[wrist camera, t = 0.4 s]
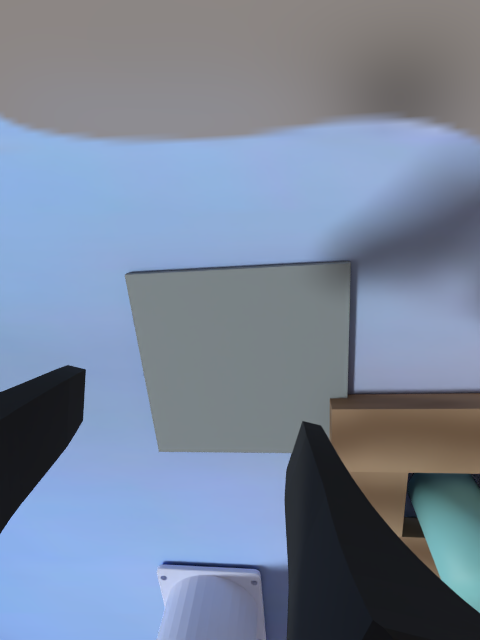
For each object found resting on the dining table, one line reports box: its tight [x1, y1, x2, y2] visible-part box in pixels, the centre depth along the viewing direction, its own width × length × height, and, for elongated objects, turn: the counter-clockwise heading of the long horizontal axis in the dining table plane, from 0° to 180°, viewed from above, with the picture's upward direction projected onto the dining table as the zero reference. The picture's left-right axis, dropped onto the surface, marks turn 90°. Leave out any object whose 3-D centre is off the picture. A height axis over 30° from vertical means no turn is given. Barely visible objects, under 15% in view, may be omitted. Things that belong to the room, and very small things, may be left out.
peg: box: [408, 473, 480, 613], centre depth 21 cm, size 4×4×6 cm
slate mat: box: [125, 261, 351, 453], centre depth 22 cm, size 12×12×1 cm
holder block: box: [330, 393, 480, 579], centre depth 24 cm, size 14×14×2 cm
